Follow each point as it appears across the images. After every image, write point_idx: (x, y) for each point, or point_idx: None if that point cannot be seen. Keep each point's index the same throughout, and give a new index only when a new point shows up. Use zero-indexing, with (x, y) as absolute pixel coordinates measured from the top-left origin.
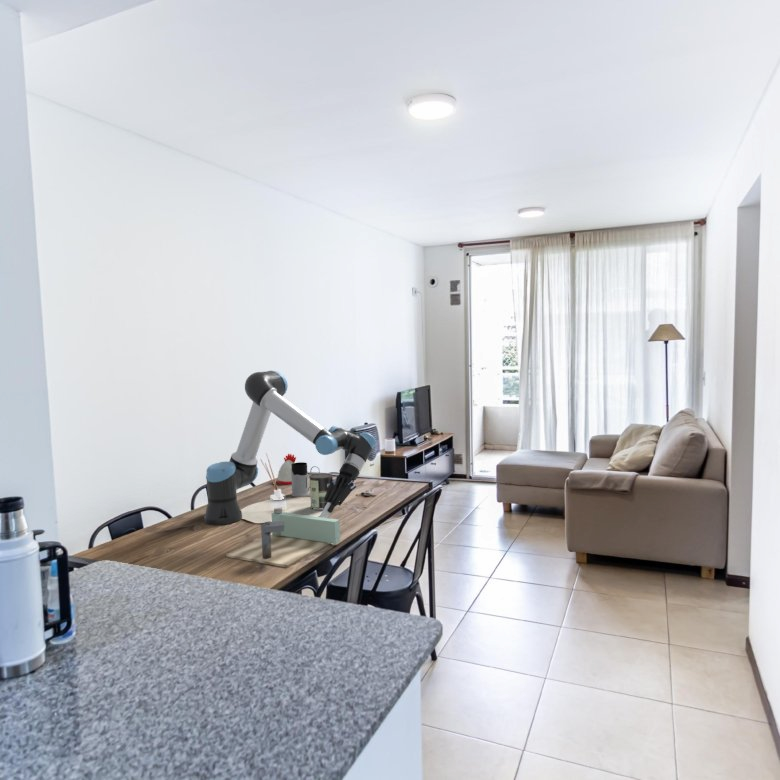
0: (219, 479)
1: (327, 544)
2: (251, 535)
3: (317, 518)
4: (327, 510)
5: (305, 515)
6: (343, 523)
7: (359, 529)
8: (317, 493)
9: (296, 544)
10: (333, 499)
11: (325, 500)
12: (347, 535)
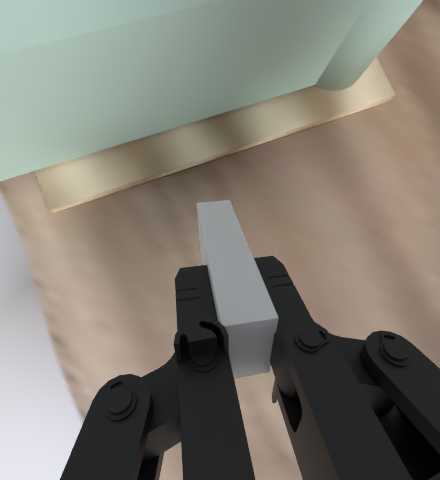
0: None
1: None
2: (423, 10)
3: (13, 6)
4: (205, 266)
5: (193, 4)
6: (280, 452)
7: None
8: None
9: None
10: (214, 402)
11: (369, 343)
12: (69, 323)
